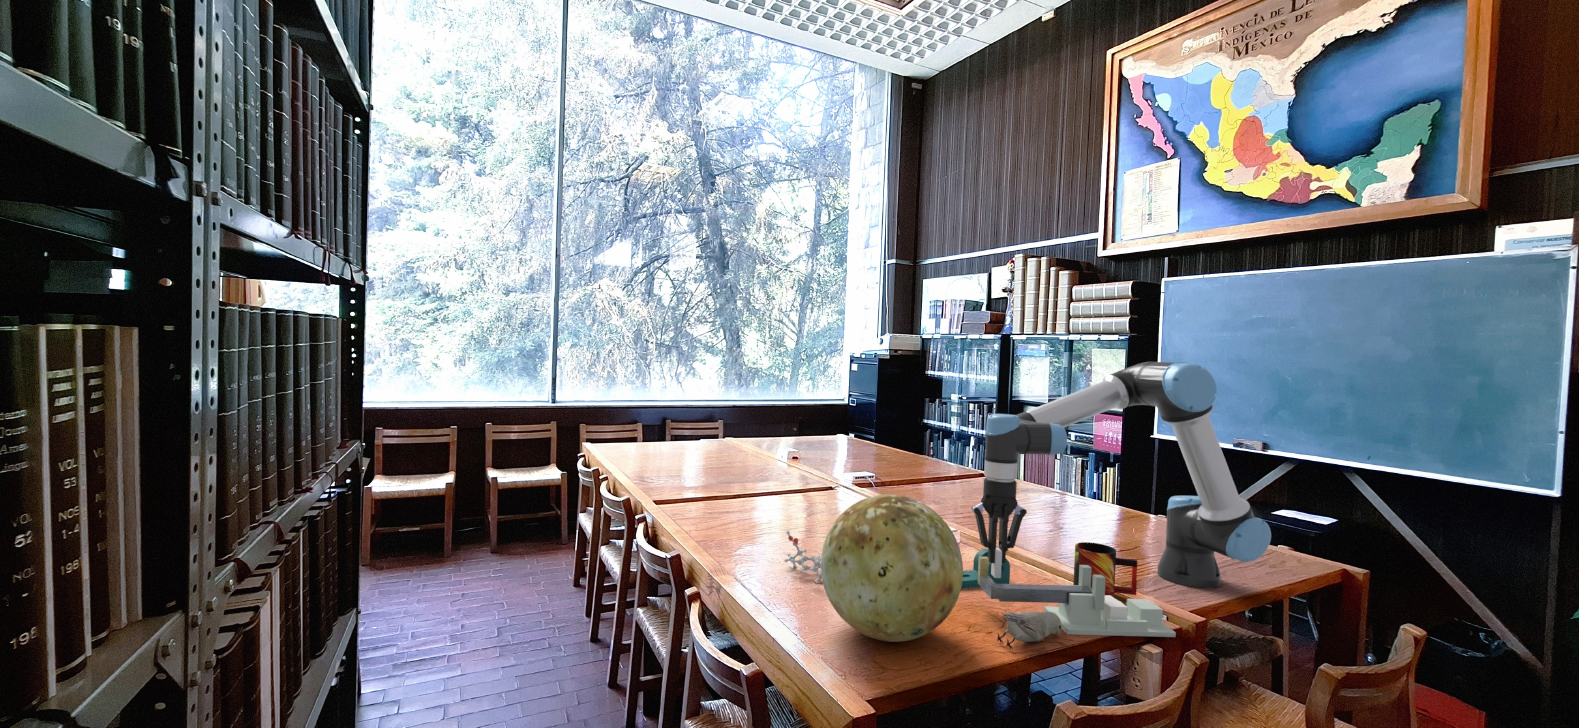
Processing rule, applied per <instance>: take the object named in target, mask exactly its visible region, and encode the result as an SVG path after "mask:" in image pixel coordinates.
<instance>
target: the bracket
mask: <svg viewBox="0 0 1579 728" xmlns="http://www.w3.org/2000/svg"><path fill="white" fill-rule="evenodd" d="M979 557H988V548H982V549H980V550H978V552H976V553H975V555H974V558H973V567H972V568H973V569H970V570H963V580H962V587H961V590H966V589H965V588H967V589H976V587H977V588H981V587H980V585H979V584H978V561H979ZM991 567H992V563H990V562H989V568H988V576H989V577H990V578H991V579H992V580H993V581H994V582H995V583H996V584H1011V583H1010V582H1011V581H1010V580H1011V565H1010V561H1009V560H1008V558H1006V561H1005V563H1002V565H1001V578H994V577H993V575H992V574H991ZM962 588H964V589H962Z"/></svg>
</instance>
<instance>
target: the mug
mask: <svg viewBox="0 0 1579 728" xmlns="http://www.w3.org/2000/svg"><path fill="white" fill-rule="evenodd" d="M1073 560H1074V562H1073V583H1072V585H1079V565H1088V566H1090V567H1091V588H1092V581H1093V575H1102V576H1104V577H1105V595H1110V596H1112V597H1113V598H1115V593H1116V594H1123V595H1131V596H1132V595H1133V596H1136V595H1137V586H1138V580H1137V578H1138V575H1137V574H1138V573H1137V572H1138V560H1137V559H1131V558H1121V557H1117V550H1116V548H1114V547H1112V546H1110V545H1106V544H1103V543H1097V542H1086V541H1085V542H1083V541H1082V542H1077V543H1075V544H1074V559H1073ZM1116 566H1124V567H1131V584H1130V585H1131V587H1129V586H1122V585H1116Z"/></svg>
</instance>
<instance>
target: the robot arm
mask: <svg viewBox="0 0 1579 728" xmlns="http://www.w3.org/2000/svg"><path fill="white" fill-rule="evenodd" d="M1216 383H1217V382H1216V380H1215V378H1214V377H1213V375H1212V373H1211V372H1209V370H1208V369H1206V368H1205V367H1204V366H1201V365H1198V364H1196V363H1189V362H1185V361H1178V362H1169V361H1167V362H1166V361H1165V362H1163V361H1146V362H1141V363H1137V364H1135V365H1132V366H1128V367H1126V368H1123V369H1121V370H1118V371H1116V372H1113V373H1110V374H1107V375H1106V376H1104V378H1103V379H1102V381H1101V382H1098V383H1095V384H1093V385H1091V386H1090V385H1089V386H1088V387H1085V388H1082V389H1080V390H1078V391H1075V392H1071V393H1070V394H1067V395H1065V396H1062V397H1060V398H1057V399H1054V400H1051V401H1049V402H1046V403H1044V404H1042V405H1041V404H1040V406H1036V407H1033V408H1031V409H1029V410H1026V411H1023V412H1020V413H1017V414H1008V413H992V414H990V415H987V418H986V425H985V432H984V433H985V445H984V446H985V448H984V449H985V450H984V471H983V472H984V474H983V475H984V476H985V478H984V479H983V492H982V493H983V494H982V498H981V499H980V503H978V504H977V505H971V508H970V509H971V511H972V512H973V514H974V516H975V521H976V524H977V525H976V526H977V531H978V536H979V541H980V544H981V545H982V546H983V547H984V548H985V549H988V558H989V562H990V563H992V567H991V574H992V575H993V577H994V578H1001V565H1002V563H1005V561H1006V559H1007V557H1006V556H1007V552H1008V551H1009V549H1014V548H1015V546H1016V541H1017V540H1018V539H1017V538H1018V535H1019V532H1020V527H1021V524H1022V522H1023V519H1024V517H1025V516H1026V515H1027V513H1028V511H1027V510H1026V508H1024V507H1023V506H1020V505H1018V504H1019V503H1018V501H1017V497H1016V496H1017V487H1018V486H1017V484H1018V482H1017V481H1016V479H1017V478H1018V462H1019V459H1018V458H1019V455H1046V456H1051V455H1060V454H1062V453H1063V452H1064V451H1065V450H1066V448H1067V445H1068V434H1067V431H1066V429H1065V428H1066V427H1069V426H1071V425H1074V424H1077V423H1079V422H1082V421H1084V420H1087V419H1089V418H1092V417H1094V416H1097V415H1100V414H1101V413H1106V412H1107V411H1109V410H1112V409H1115V408H1116V409H1119V410H1122V409H1125V408H1127V407H1133V406H1151V407H1156V408H1157V410H1158V413H1159V416H1160V418H1161V420H1162V421H1163V422H1164V423H1166V424H1168V425H1171V428H1172V430H1173V434H1174V436H1175V439H1176V441H1177V443H1178V446H1179V448H1180V451H1181V454H1182V457H1183V459H1184V461H1185V465H1186V467H1187V470H1188V472H1189V475H1190V477H1191V480H1192V484H1193V485H1194V488H1195V491H1196V494H1197V495H1173V496H1170V498H1169V499H1168V501H1167V503H1168V504H1167V508H1166V528H1165V529H1166V534H1165V535H1166V536H1165V537H1166V538H1165V540H1166V541H1165V549H1164V550H1163V553H1162V555H1161V557H1160V559H1159V562H1158V563H1157V575H1158V576H1159V577H1161V578H1163V579H1165V580H1167V581H1169V582H1172V583H1174V584H1180V585H1184V586H1187V587H1188V586H1189V587H1193V588H1203V589H1208V588H1210V589H1211V588H1217V587H1220V586H1221V582H1222V577H1221V573H1220V568H1219V565H1218V563H1217V559H1216V556H1215V553H1217V554H1220V555H1222V556H1225V557H1227V558H1229V559H1231V560H1236V561H1239V562H1244V563H1250V562H1254V561H1257V560H1259V558H1261V557H1262V556H1263V555H1264V554H1265V553H1266V551H1268V548H1269V546H1270V544H1271V540H1272V531H1271V528H1270V525H1269V524H1268V523H1267V522H1266V521H1265V520H1263V519H1262V518H1260V517H1255V515H1254V513H1253V510H1252V507H1251V505H1250V502H1249V501H1248V500H1246V499H1244V498H1242V497H1240V495H1239V493H1238V490H1237V486H1236V484H1235V482H1234V480H1233V476H1232V474H1231V471H1230V469H1229V468H1230V467H1229V466H1228V463H1227V461H1226V457H1225V456H1224V453H1223V451H1222V448H1221V447H1222V446H1221V445H1220V441H1219V440H1218V438H1217V434H1216V431H1215V429H1214V427H1213V423H1212V421H1211V418H1210V416H1209V415H1210V414H1211V412H1212V411H1213V409H1214V406H1213V404H1214V403H1215V400H1216V398H1217V397H1216V396H1215V394H1217V393H1218V388H1217V387H1218V386H1217V384H1216ZM984 510H985V511H986V513H987V514H988V533H987V529H986V525H985V518H984V516H983V513H984ZM1012 513H1013V516H1012V520H1011V523H1010V527H1009V528H1008V526H1009V521H1010V520H1009V519H1010V518H1009V517H1010V516H1011V515H1012ZM998 524H999V525H998ZM1008 529H1009V530H1008ZM997 532H998V533H997ZM997 535H998V536H997ZM997 537H998V547H997Z"/></svg>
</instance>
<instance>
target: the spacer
mask: <svg viewBox="0 0 1579 728" xmlns="http://www.w3.org/2000/svg"><path fill="white" fill-rule="evenodd" d="M1119 601H1120V600H1118V599H1117V598H1115V597H1114V598H1113V597H1112V596H1110V595H1105V600H1104V610H1101V618H1102V619H1103V620H1104V621H1105V619H1122V620H1127V614H1128V607H1127V605H1125V604H1124V603H1123V602H1122V601H1121V602H1122V603H1121V602H1119Z"/></svg>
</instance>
